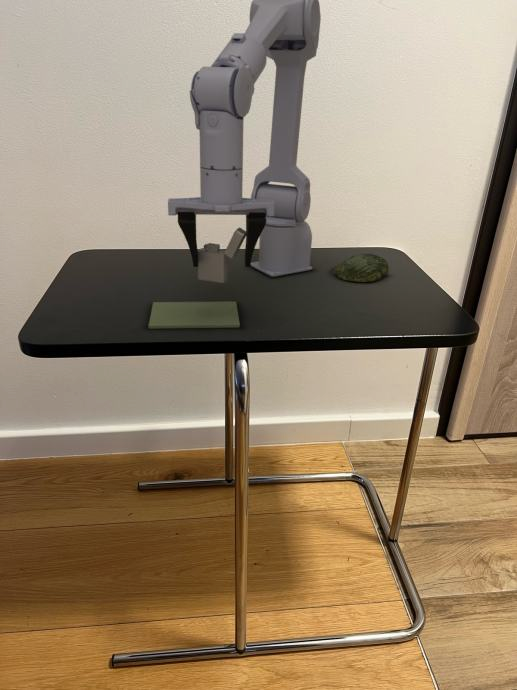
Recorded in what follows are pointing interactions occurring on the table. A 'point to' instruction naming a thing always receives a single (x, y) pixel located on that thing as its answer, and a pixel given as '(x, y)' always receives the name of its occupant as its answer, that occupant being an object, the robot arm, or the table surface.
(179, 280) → the table surface
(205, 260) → the lighter
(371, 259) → the green rounded dome
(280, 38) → the robot arm
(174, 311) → the mat
